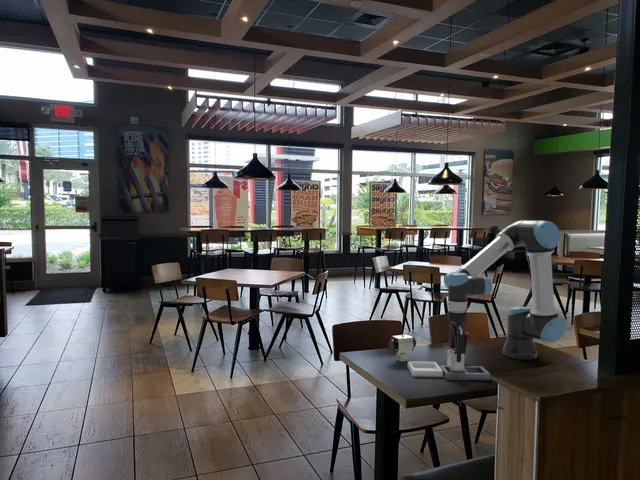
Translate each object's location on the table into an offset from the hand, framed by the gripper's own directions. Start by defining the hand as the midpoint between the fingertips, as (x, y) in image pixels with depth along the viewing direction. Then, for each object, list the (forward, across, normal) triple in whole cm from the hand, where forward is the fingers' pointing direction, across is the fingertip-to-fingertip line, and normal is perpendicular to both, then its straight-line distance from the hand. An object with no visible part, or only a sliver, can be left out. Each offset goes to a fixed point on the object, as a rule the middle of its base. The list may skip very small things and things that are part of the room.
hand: (455, 366), depth 200 cm
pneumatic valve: (+4, -19, -18) cm, 27 cm away
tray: (+4, -4, -12) cm, 13 cm away
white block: (+3, 0, 0) cm, 3 cm away
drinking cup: (+4, -18, +7) cm, 20 cm away
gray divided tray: (+4, 0, +4) cm, 5 cm away
